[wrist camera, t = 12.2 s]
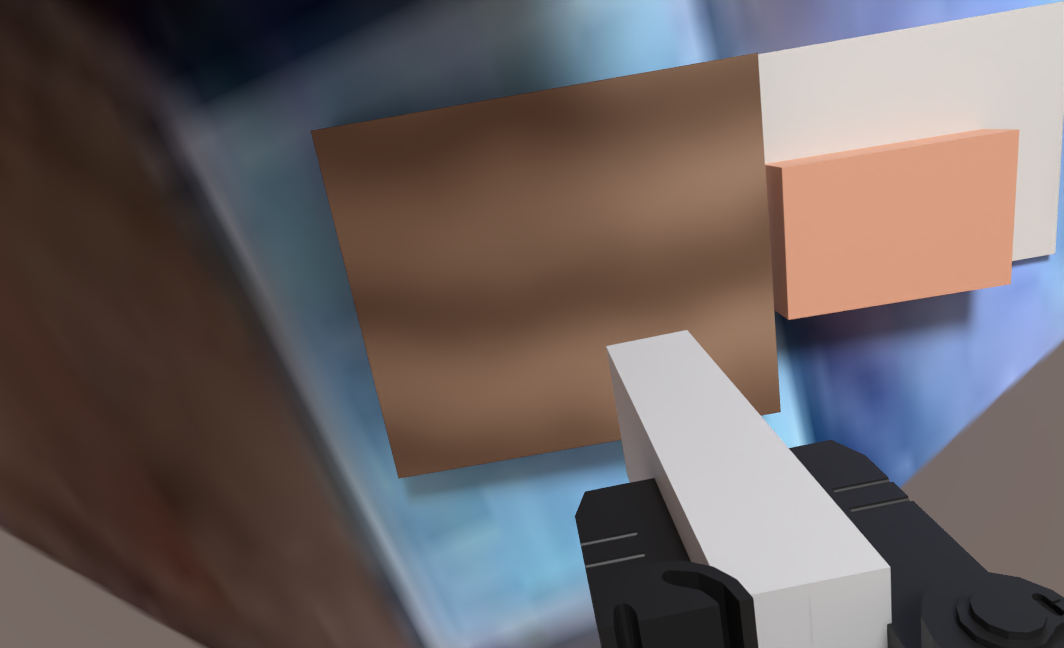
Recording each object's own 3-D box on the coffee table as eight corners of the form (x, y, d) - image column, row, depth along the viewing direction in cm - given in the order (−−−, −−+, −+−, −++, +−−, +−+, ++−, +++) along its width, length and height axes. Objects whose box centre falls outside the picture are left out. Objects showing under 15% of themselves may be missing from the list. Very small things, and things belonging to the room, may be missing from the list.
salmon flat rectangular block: (769, 306, 29) (788, 319, 27) (762, 164, 27) (782, 167, 25) (976, 273, 29) (1010, 283, 27) (982, 128, 27) (1019, 129, 25)
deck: (327, 129, 26) (310, 130, 24) (734, 58, 26) (757, 52, 24) (406, 450, 30) (398, 478, 28) (758, 388, 30) (780, 411, 28)
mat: (734, 58, 26) (736, 58, 26) (1064, 1, 26) (1070, -1, 26) (752, 304, 29) (754, 305, 29) (1049, 252, 29) (1055, 253, 29)
